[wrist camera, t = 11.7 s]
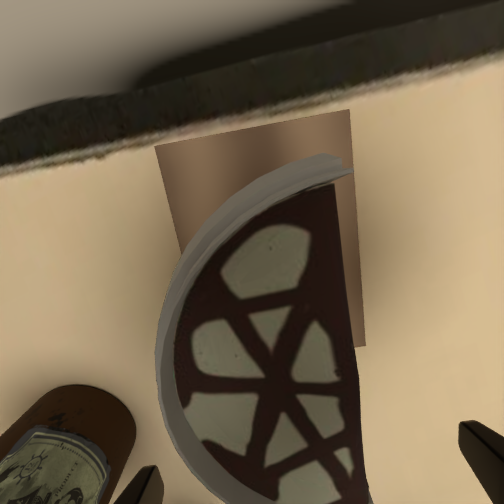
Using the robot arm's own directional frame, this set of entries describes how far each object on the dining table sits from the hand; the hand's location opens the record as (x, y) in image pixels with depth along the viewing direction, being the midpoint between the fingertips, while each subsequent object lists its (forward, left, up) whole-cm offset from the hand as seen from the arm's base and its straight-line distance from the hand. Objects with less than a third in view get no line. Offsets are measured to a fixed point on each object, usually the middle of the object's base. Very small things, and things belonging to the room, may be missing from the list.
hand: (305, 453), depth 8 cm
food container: (-1, +2, -10) cm, 10 cm away
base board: (0, +3, -13) cm, 13 cm away
